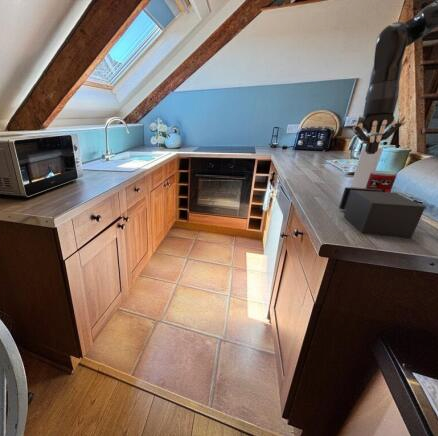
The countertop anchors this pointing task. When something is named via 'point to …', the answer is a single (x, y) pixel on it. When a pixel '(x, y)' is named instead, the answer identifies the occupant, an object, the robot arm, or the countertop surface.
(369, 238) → the countertop surface
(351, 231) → the countertop surface
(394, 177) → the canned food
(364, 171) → the milk
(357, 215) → the dark grey box
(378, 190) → the black angled strip
